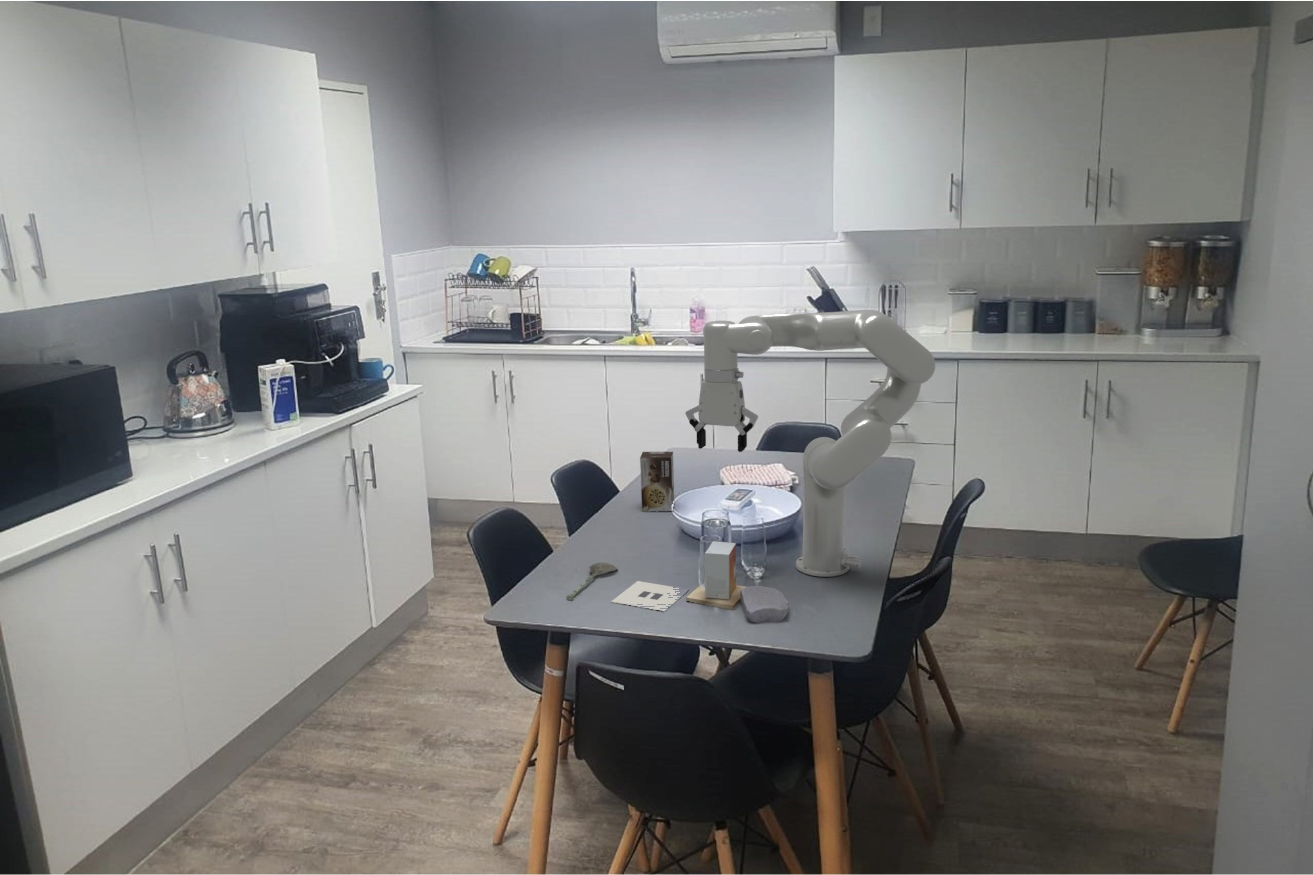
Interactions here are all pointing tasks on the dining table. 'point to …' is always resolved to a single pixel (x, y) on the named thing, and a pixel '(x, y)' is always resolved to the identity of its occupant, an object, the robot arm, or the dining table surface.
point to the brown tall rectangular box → (657, 481)
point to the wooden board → (731, 603)
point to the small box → (720, 570)
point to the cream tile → (647, 595)
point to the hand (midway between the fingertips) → (721, 448)
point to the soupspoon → (593, 575)
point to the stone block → (763, 604)
